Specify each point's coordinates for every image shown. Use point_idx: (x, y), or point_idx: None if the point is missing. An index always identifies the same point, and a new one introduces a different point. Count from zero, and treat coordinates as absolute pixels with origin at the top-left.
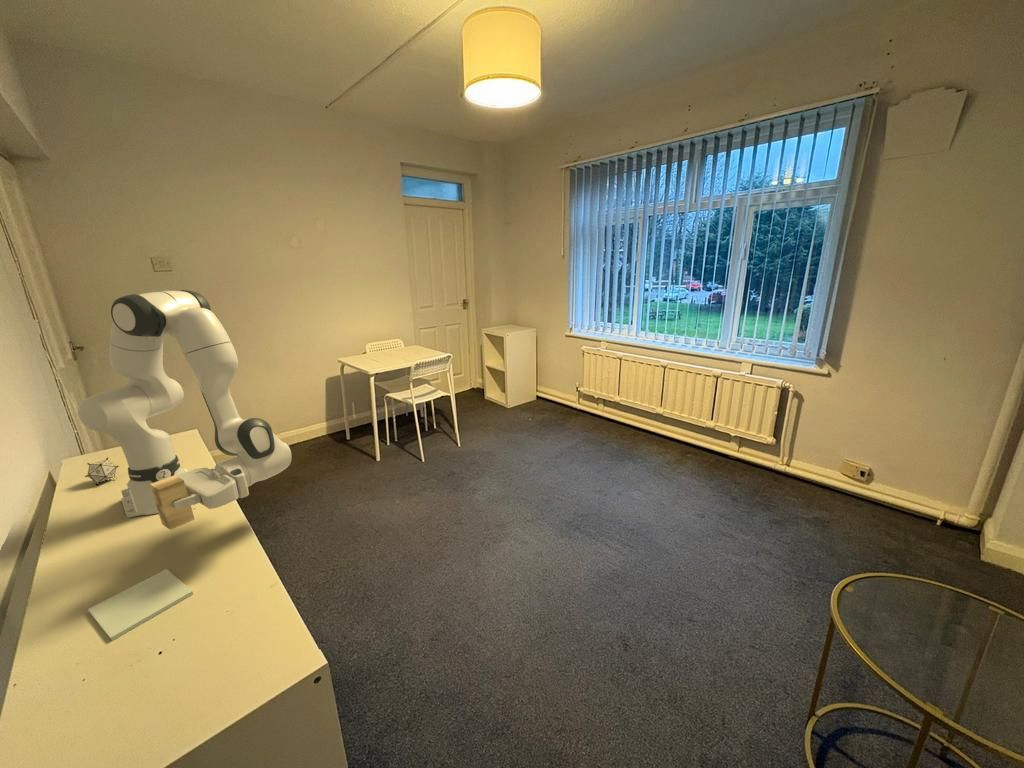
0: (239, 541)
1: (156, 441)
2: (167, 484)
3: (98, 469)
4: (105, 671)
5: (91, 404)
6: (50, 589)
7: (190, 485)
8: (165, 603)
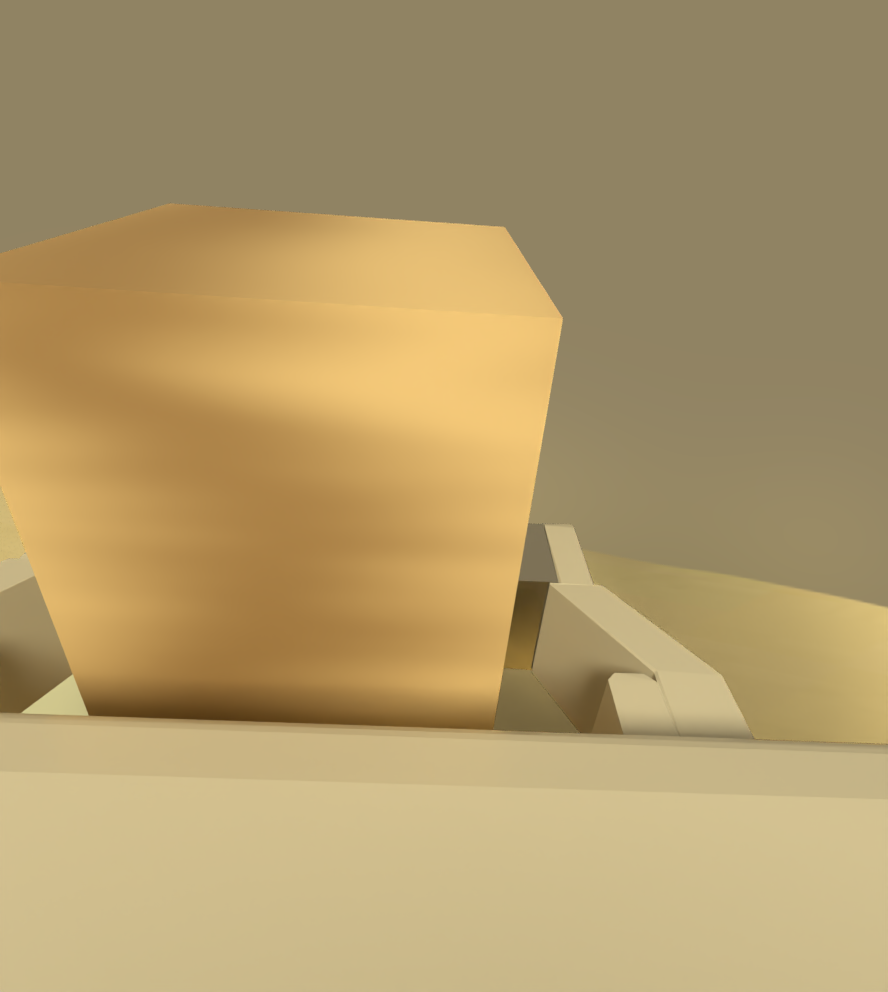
0: None
1: None
2: (181, 228)
3: None
4: (18, 540)
5: None
6: (652, 575)
7: (265, 758)
8: (47, 705)
